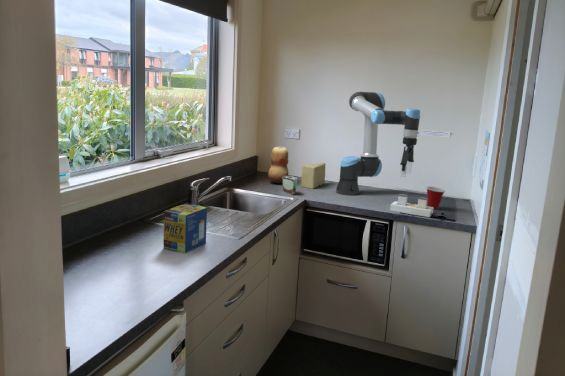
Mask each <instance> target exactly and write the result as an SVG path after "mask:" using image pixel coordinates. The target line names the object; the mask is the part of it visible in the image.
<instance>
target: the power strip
mask: <svg viewBox="0 0 565 376" xmlns="http://www.w3.org/2000/svg"><path fill="white" fill-rule="evenodd" d="M417 206H418V204H416V203H410V202H409V203H408V202H407V205H406V206H403V205H398V200H395V201H393V202H392V203H390V207H389V211H391V212H397V213H402V214H403V213H404V214H409V215H415V216H421V217H426V218H431V217H432V215H433V217H438V216H444V217H445V219H446V218H447V215H445V214H439V213H434V210H435V209H434V207H428V205H427V208H426V209H421V208H417ZM444 217H443V218H444Z"/></svg>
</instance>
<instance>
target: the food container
mask: <svg viewBox="0 0 565 376" xmlns="http://www.w3.org/2000/svg"><path fill="white" fill-rule="evenodd" d="M282 179H283V183H282V192H283V191H284V192H283V193H285V192H286V193H285V194H288V193H289V194H288V195H290V194H291V196H294V195H296V190H297V183H298V182H299V180H298V177H296V176H291V175H288V176H283V177H282Z"/></svg>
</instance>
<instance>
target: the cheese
mask: <svg viewBox="0 0 565 376" xmlns="http://www.w3.org/2000/svg"><path fill="white" fill-rule="evenodd" d="M325 180H326V162H319V163H315V164H306V165H302V168H301V185H300V186H301V188H305V187H306V188H305V189H311V190H313V189H316V188H317V187H319V185H320V186H322V184H323V185H324V184H325V183H326V182H325Z"/></svg>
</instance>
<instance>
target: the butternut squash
mask: <svg viewBox="0 0 565 376" xmlns="http://www.w3.org/2000/svg"><path fill="white" fill-rule="evenodd" d="M288 164H289V150H288V149H287V148H286V147H284V146H275V147H274V148H272V150H271V155H270V168H269V170H268V173H267V177H268V179H269V181H270V182H271V183H274V184H283V179H282V177H283V176H289V168H288Z"/></svg>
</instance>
